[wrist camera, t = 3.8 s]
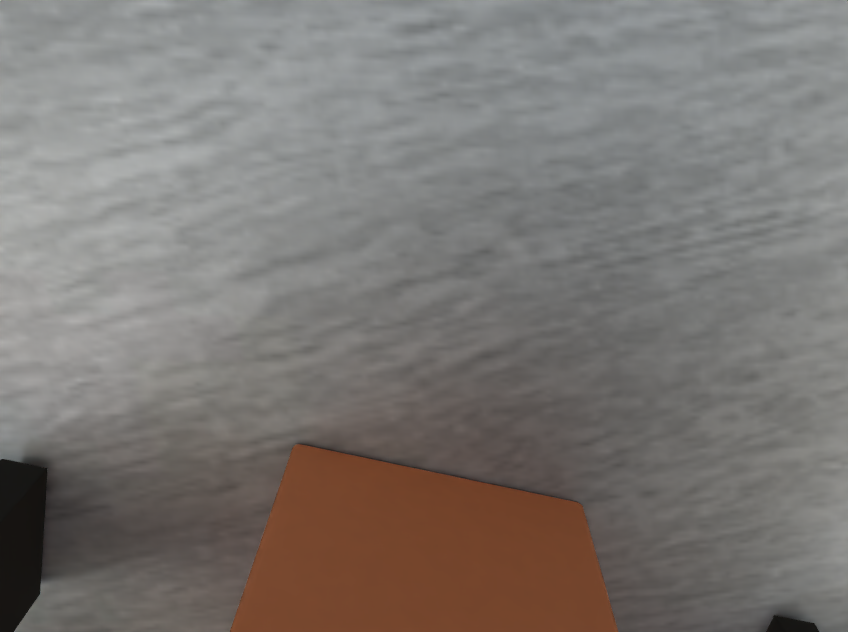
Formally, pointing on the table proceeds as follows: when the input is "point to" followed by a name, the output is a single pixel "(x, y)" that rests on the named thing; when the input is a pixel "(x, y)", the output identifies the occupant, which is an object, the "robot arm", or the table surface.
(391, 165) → the table surface
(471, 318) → the table surface
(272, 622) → the terracotta block
